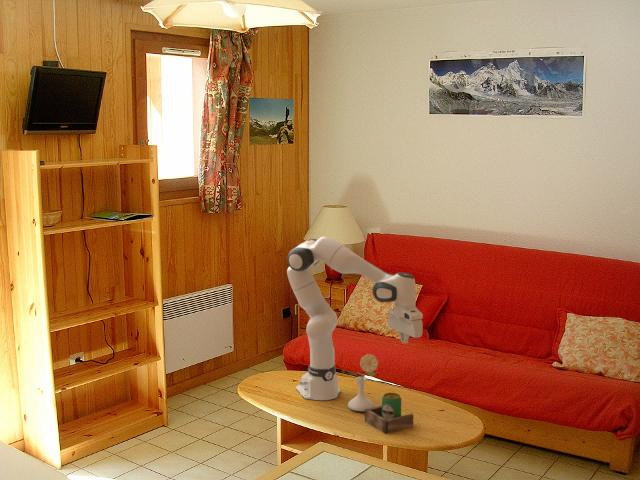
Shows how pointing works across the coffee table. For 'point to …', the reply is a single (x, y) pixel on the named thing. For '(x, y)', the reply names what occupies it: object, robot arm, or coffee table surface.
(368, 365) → the flower in vase
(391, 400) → the beverage can
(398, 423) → the walnut bracket
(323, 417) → the coffee table surface
